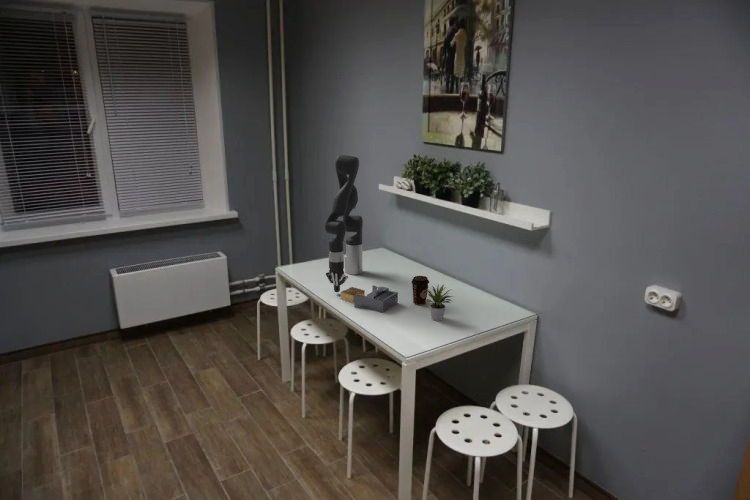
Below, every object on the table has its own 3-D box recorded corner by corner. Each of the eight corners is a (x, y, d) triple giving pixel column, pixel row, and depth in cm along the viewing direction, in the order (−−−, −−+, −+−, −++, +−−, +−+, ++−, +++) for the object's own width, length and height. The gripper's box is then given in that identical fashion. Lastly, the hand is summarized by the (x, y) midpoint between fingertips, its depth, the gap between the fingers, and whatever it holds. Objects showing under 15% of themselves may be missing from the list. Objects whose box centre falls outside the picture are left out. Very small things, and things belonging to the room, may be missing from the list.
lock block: (340, 299, 247) (340, 291, 246) (352, 294, 254) (352, 286, 253) (353, 303, 243) (353, 295, 242) (364, 297, 250) (364, 289, 249)
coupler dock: (353, 306, 238) (353, 289, 236) (373, 295, 252) (373, 279, 249) (380, 314, 230) (380, 296, 227) (399, 301, 244) (400, 285, 241)
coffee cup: (430, 301, 245) (431, 276, 241) (426, 307, 237) (427, 281, 234) (413, 298, 248) (414, 274, 244) (409, 305, 240) (409, 279, 236)
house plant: (429, 328, 215) (430, 293, 211) (414, 316, 228) (415, 282, 223) (457, 322, 221) (459, 288, 216) (441, 311, 233) (442, 278, 228)
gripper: (321, 259, 249) (322, 291, 254) (342, 263, 242) (343, 296, 247) (330, 255, 255) (331, 287, 260) (351, 259, 248) (351, 292, 253)
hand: (337, 291), depth 253 cm, fingers closed
